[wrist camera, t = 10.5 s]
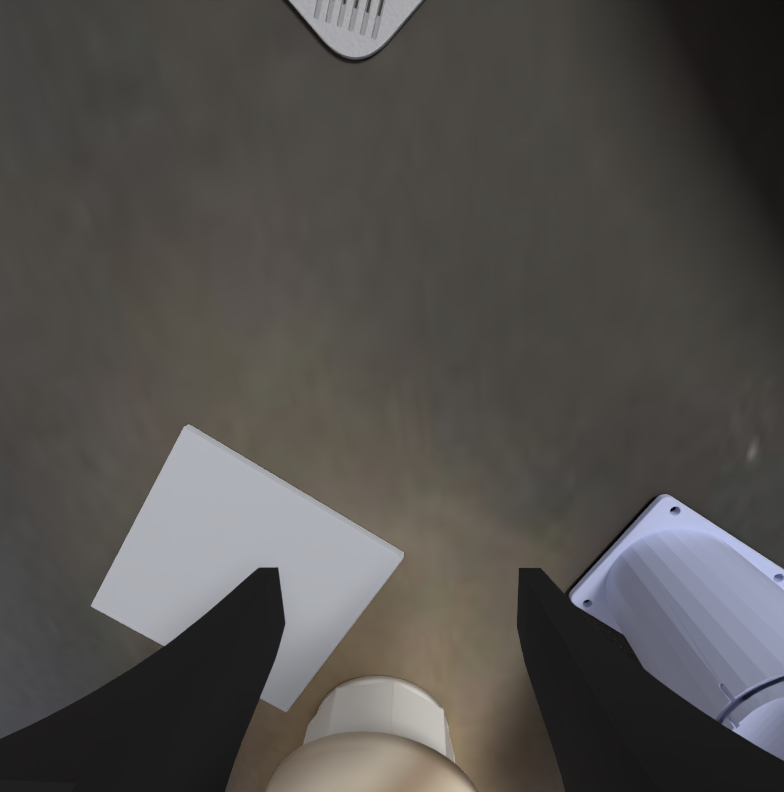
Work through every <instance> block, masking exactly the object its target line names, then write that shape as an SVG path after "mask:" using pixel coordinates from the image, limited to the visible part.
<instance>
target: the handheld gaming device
mask: <svg viewBox="0 0 784 792" xmlns="http://www.w3.org/2000/svg"><path fill="white" fill-rule="evenodd" d="M288 1H289V2H290V3H291V4H292V5H293V7H294V8H295V9H296V10H297V11H298V12H299V14H300V15H301V16H302V17H303V18H304V19H305V21H306V22H307V23H308V24H309V25H310V26H311V28H312V29H313V30H314V31H315V32H316V33H317V35H318V36H319V37H320V38H321V39H322V40H323V41H324V43H325V44H326V45H327V46H328V47H330V48H331V49H332V50H333V51H334V52H336V53H337V54H339V55H341V56H343V57H345V58H348V59H354V60H358V59H364V58H367V57H370V56H372V55H373V54H375V53H377V52H378V51H379V50H380V49H382V48H383V47H384V46H385V45H386V44H387V43H388V42H389V41H390V40H391V39H392V37H393V36H394V35H395V34H396V33H397V31H398V30H399V29H400V28H401V27H402V26H403V24H404V23H405V22H406V21H407V20H408V19H409V17H410V16H411V15H412V14H413V13H414V12H415V10H416V9H417V8H418V7H419V6H420V5H421V3H422V2H423V1H424V0H384V2H383V6H382V11H381V15H380V16H378V11H379V7H380V3H381V0H371V5H370V9H369V13H367V12H366V10H367V5H368V1H369V0H359V2H358V7H357V9H355V8H354V7H355V3H356V0H346V4H345V5H344V4H343V1H344V0H334V1H332V0H288Z"/></svg>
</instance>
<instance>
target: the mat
mask: <svg viewBox="0 0 784 792" xmlns="http://www.w3.org/2000/svg"><path fill="white" fill-rule="evenodd" d="M403 558H404V552H402V551H401V550H399V549H397V548H396V547H394V546H392V545H391V544H389V543H387V542H386V541H384V540H382V539H381V538H379V537H377V536H376V535H374V534H372V533H371V532H369V531H367V530H365V529H364V528H362V527H360V526H359V525H357V524H355V523H354V522H352V521H350V520H349V519H347V518H345V517H344V516H342V515H340V514H339V513H337V512H335V511H334V510H332V509H330V508H329V507H327V506H325V505H324V504H322V503H320V502H319V501H317V500H315V499H314V498H312V497H310V496H309V495H307V494H305V493H303V492H302V491H300V490H298V489H297V488H295V487H293V486H292V485H290V484H288V483H287V482H285V481H283V480H282V479H280V478H278V477H277V476H275V475H273V474H272V473H270V472H268V471H267V470H265V469H263V468H262V467H260V466H258V465H257V464H255V463H253V462H252V461H250V460H248V459H247V458H245V457H243V456H241V455H240V454H238V453H236V452H235V451H233V450H231V449H230V448H228V447H226V446H225V445H223V444H221V443H220V442H218V441H216V440H215V439H213V438H211V437H210V436H208V435H206V434H205V433H203V432H201V431H200V430H198V429H196V428H195V427H193V426H191V425H190V424H188V425H187V426H185V427H184V428H183V430H182V432H181V434H180V436H179V438H178V440H177V441H176V443H175V445H174V447H173V449H172V451H171V453H170V455H169V457H168V459H167V461H166V463H165V464H164V466H163V468H162V470H161V472H160V474H159V476H158V478H157V480H156V482H155V484H154V486H153V487H152V489H151V491H150V493H149V495H148V497H147V499H146V501H145V503H144V505H143V507H142V509H141V511H140V512H139V514H138V516H137V518H136V520H135V522H134V524H133V526H132V528H131V530H130V532H129V534H128V535H127V537H126V539H125V541H124V543H123V545H122V547H121V549H120V551H119V553H118V555H117V557H116V558H115V560H114V562H113V564H112V566H111V568H110V570H109V572H108V574H107V576H106V578H105V580H104V582H103V583H102V585H101V587H100V589H99V591H98V593H97V595H96V597H95V599H94V601H93V603H92V605H91V607H93V608H95V609H97V610H99V611H100V612H102V613H104V614H106V615H108V616H110V617H111V618H113V619H115V620H117V621H119V622H121V623H122V624H124V625H126V626H128V627H130V628H132V629H133V630H135V631H137V632H139V633H141V634H143V635H144V636H146V637H148V638H150V639H152V640H154V641H156V642H157V643H159V644H161V645H163V646H165V645H167V644H168V643H169V642H171V641H172V640H173V639H175V638H176V637H177V636H178V635H180V634H181V633H182V632H183V631H185V630H186V629H187V628H188V627H190V626H191V625H192V624H193V623H195V622H196V621H197V620H198V619H200V618H201V617H202V616H203V615H205V614H206V613H207V612H208V611H209V610H211V609H212V608H213V607H214V606H215V605H216V604H218V603H219V602H220V601H221V600H222V599H223V598H224V597H226V596H227V595H228V594H229V593H230V592H231V591H232V590H234V589H235V588H236V587H237V586H238V585H239V584H240V583H241V582H243V581H244V580H245V579H246V578H247V577H248V576H249V575H250V574H252V573H253V572H254V571H255V570H256V569H258V568H259V567H278V569H279V577H280V584H281V592H282V600H283V607H284V615H285V623H286V624H285V628H284V631H283V635H282V639H281V643H280V646H279V649H278V653H277V656H276V659H275V662H274V664H273V667H272V669H271V672H270V674H269V677H268V679H267V682H266V684H265V687H264V689H263V692H262V694H261V696H260V699H262V700H264V701H266V702H268V703H269V704H271V705H273V706H275V707H277V708H279V709H280V710H282V711H284V712H287V711H288V710H289V708H290V707H291V706H292V704H293V703H294V702H295V700H296V699H297V698H298V696H299V695H300V694H301V692H302V691H303V690H304V689H305V687H306V686H307V685H308V683H309V682H310V681H311V679H312V678H313V677H314V675H315V674H316V673H317V671H318V670H319V669H320V667H321V666H322V665H323V663H324V662H325V661H326V660H327V658H328V657H329V656H330V654H331V653H332V652H333V650H334V649H335V648H336V646H337V645H338V644H339V642H340V641H341V640H342V638H343V637H344V636H345V635H346V633H347V632H348V631H349V629H350V628H351V627H352V625H353V624H354V623H355V621H356V620H357V619H358V617H359V616H360V615H361V613H362V612H363V611H364V609H365V608H366V607H367V606H368V604H369V603H370V602H371V600H372V599H373V598H374V596H375V595H376V594H377V592H378V591H379V590H380V588H381V587H382V586H383V584H384V583H385V582H386V580H387V579H388V578H389V577H390V575H391V574H392V573H393V571H394V570H395V569H396V567H397V566H398V565H399V563H400V562H401V561H402V559H403Z"/></svg>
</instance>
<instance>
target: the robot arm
mask: <svg viewBox="0 0 784 792" xmlns="http://www.w3.org/2000/svg"><path fill="white" fill-rule="evenodd" d="M673 507H676V508H675V510H674V511H671V512H670V510H671V508H673ZM775 575H776V576H775ZM774 576H775V577H774ZM569 597H570V600H571V601H570V600H569V598H568V597H567V596H566V595H565V594H564V593H563V592H562V591H561V590H560V589H559V588H558V587H557V585H556V584H555V583H554V582H553V581H552V580H551V579H550V578H549V577H548V575H547V574H546V573H545V572H544V571H543V570H542V569H541V568H519V584H518V612H517V629H518V634H519V638H520V643H521V648H522V652H523V657H524V661H525V665H526V668H527V671H528V674H529V677H530V680H531V683H532V686H533V689H534V692H535V695H536V698H537V701H538V704H539V707H540V710H541V713H542V716H543V719H544V722H545V725H546V728H547V731H548V734H549V737H550V740H551V743H552V746H553V749H554V752H555V755H556V759H557V762H558V766H559V769H560V772H561V776H562V780H563V784H564V788H565V792H784V569H782V568H781V567H779V566H778V565H776V564H775V563H773V562H772V561H770V560H768V559H767V558H765V557H764V556H762V555H761V554H759V553H758V552H756V551H755V550H753V549H752V548H750V547H748V546H747V545H745V544H744V543H742V542H741V541H739V540H738V539H736V538H735V537H733V536H732V535H730V534H729V533H727V532H725V531H724V530H722V529H721V528H719V527H718V526H716V525H715V524H713V523H712V522H710V521H709V520H707V519H705V518H704V517H702V516H701V515H699V514H698V513H696V512H695V511H693V510H692V509H690V508H689V507H687V506H685V505H684V504H682V503H681V502H679V501H678V500H676V499H675V498H673V497H672V496H670V495H667V494H663V495H660V496H658V497H657V498H656V499H655V500H654V501H653V502H652V503H651V504H650V505H649V506H648V507H647V509H646V510H645V511H644V512H643V513H642V514H641V515H640V516H639V517H638V518H637V519H636V520H635V522H634V523H633V524H632V525H631V526H630V527H629V528H628V529H627V530H626V531H625V532H624V533H623V535H622V536H621V537H620V538H619V539H618V540H617V541H616V542H615V543H614V544H613V545H612V547H611V548H610V549H609V550H608V551H607V552H606V553H605V554H604V555H603V556H602V557H601V558H600V560H599V561H598V562H597V563H596V564H595V565H594V566H593V567H592V568H591V569H590V570H589V571H588V573H587V574H586V575H585V576H584V577H583V578H582V579H581V580H580V581H579V582H578V583H577V584H576V586H575V587H574V588H573V589H572V590H571V591H570V593H569ZM585 600H589V601H588V602H585V603H584V601H585ZM576 606H577V607H579V608H580V609H582V610H583V611H585V612H587V613H588V614H590V615H592V616H593V617H595V618H597V619H598V620H600V621H602V622H603V623H605V624H606V625H608V626H610V627H611V628H613V629H615V630H616V631H618V632H620V633H621V634H623V635H624V636H625V638H626V639H627V641H628V643H629V644H630V646H631V648H632V649H633V651H634V653H635V654H636V656H637V658H638V659H639V661H640V663H641V665H642V666H643V668H642V667H641V666H640V665H639V664H637V663H636V662H635V661H634V660H632V659H631V658H630V657H629V656H628V655H627V654H625V653H624V652H623V651H622V650H621V649H620V648H618V647H617V646H616V645H615V644H614V643H613V642H612V641H611V640H610V639H609V638H607V637H606V636H605V635H604V634H603V633H602V632H601V631H600V630H599V629H598V628H597V627H596V626H595V625H594V624H593V623H592V622H591V621H590V620H589V619H588V618H587V617H586V616H585V615H584V614H583V613H582V612H581V611H580V610H579V609H578V608H577V607H576ZM285 624H286V623H285V615H284V607H283V600H282V592H281V584H280V577H279V569H278V567H259V568H258V569H256V570H255V571H254V572H253V573H252V574H250V575H249V576H248V577H247V578H246V579H245V580H244V581H243V582H241V583H240V584H239V585H238V586H237V587H236V588H235V589H234V590H232V591H231V592H230V593H229V594H228V595H227V596H226V597H224V598H223V599H222V600H221V601H220V602H219V603H218V604H216V605H215V606H214V607H213V608H212V609H211V610H209V611H208V612H207V613H206V614H205V615H203V616H202V617H201V618H200V619H198V620H197V621H196V622H195V623H193V624H192V625H191V626H190V627H188V628H187V629H186V630H185V631H183V632H182V633H181V634H180V635H178V636H177V637H176V638H175V639H173V640H172V641H171V642H169V643H168V644H167V645H165V646H164V647H162V648H161V649H160V650H158V651H157V652H155V653H154V654H153V655H151V656H150V657H148V658H147V659H145V660H144V661H142V662H141V663H139V664H138V665H136V666H135V667H133V668H132V669H130V670H129V671H127V672H125V673H124V674H122V675H120V676H119V677H117V678H115V679H114V680H112V681H111V682H109V683H107V684H106V685H104V686H102V687H101V688H99V689H97V690H96V691H94V692H92V693H91V694H89V695H87V696H85V697H83V698H82V699H80V700H78V701H76V702H74V703H73V704H71V705H69V706H67V707H65V708H63V709H61V710H59V711H57V712H55V713H54V714H52V715H50V716H48V717H46V718H44V719H42V720H40V721H38V722H36V723H34V724H32V725H30V726H28V727H25V728H23V729H21V730H19V731H17V732H15V733H12V734H10V735H8V736H6V737H4V738H1V739H0V792H225V789H226V786H227V783H228V780H229V776H230V773H231V770H232V767H233V764H234V761H235V758H236V756H237V753H238V750H239V748H240V745H241V742H242V740H243V737H244V735H245V733H246V730H247V728H248V725H249V723H250V720H251V718H252V716H253V713H254V711H255V708H256V706H257V704H258V701H259V699H260V696H261V694H262V692H263V689H264V687H265V684H266V682H267V679H268V677H269V674H270V672H271V669H272V667H273V664H274V662H275V659H276V656H277V653H278V649H279V646H280V643H281V639H282V635H283V631H284V628H285Z"/></svg>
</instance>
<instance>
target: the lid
mask: <svg viewBox="0 0 784 792" xmlns="http://www.w3.org/2000/svg"><path fill="white" fill-rule="evenodd" d="M266 792H478V791H477V789H476V787H475V786H474V784H473V783H472V781H471V780H470V779H469V777H468V776H467V775H466V774H465V773H464V772H463V771H462V770H461V769H460V767H459V766H457V765H456V764H455V763H454V762H452V761H451V760H450V759H449V758H447V757H446V756H444V755H443V754H441V753H439V752H438V751H436V750H434V749H432V748H430V747H428V746H426V745H424V744H422V743H420V742H417V741H414V740H411V739H409V738H405V737H401V736H397V735H393V734H387V733H381V732H367V731H357V732H344V733H338V734H332V735H328V736H325V737H321V738H318V739H315V740H313V741H311V742H308V743H306V744H304V745H302V746H301V747H299V748H297V749H295V750H294V751H293V752H292V753H290V754H289V755H288V756H286V757H285V758H284V759H283V761H282V762H281V763H280V764H279V765H278V766H277V768H276V769H275V771H274V772H273V774H272V776H271V778H270V780H269V782H268V785H267V788H266Z"/></svg>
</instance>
